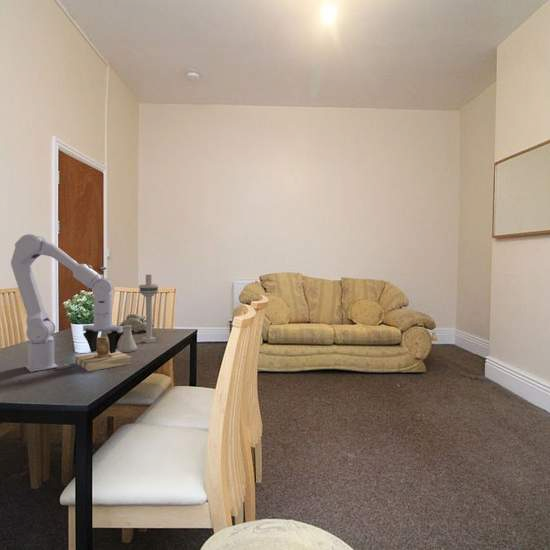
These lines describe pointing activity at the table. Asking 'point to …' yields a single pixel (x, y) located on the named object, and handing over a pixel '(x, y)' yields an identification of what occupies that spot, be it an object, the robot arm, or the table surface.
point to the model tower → (148, 306)
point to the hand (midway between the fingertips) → (103, 352)
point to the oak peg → (102, 347)
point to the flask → (127, 340)
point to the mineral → (135, 322)
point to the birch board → (102, 360)
